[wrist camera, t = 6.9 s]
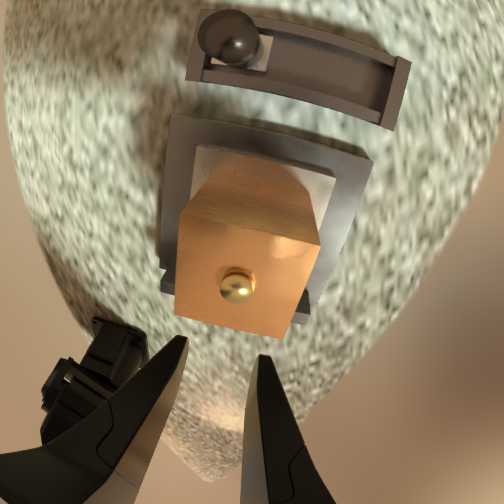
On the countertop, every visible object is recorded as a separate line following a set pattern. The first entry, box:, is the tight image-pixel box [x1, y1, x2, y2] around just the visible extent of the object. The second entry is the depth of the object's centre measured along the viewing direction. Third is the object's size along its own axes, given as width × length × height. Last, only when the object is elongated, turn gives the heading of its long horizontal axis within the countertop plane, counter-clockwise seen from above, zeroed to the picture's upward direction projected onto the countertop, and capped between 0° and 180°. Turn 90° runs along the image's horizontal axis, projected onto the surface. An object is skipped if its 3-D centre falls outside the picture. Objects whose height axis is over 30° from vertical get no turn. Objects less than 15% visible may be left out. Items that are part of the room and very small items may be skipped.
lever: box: [197, 9, 274, 73], centre depth 10 cm, size 2×3×5 cm
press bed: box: [159, 114, 374, 325], centre depth 17 cm, size 11×12×3 cm
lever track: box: [185, 9, 412, 131], centre depth 12 cm, size 4×11×2 cm, turn 78°
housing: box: [174, 171, 321, 339], centre depth 14 cm, size 6×6×6 cm
